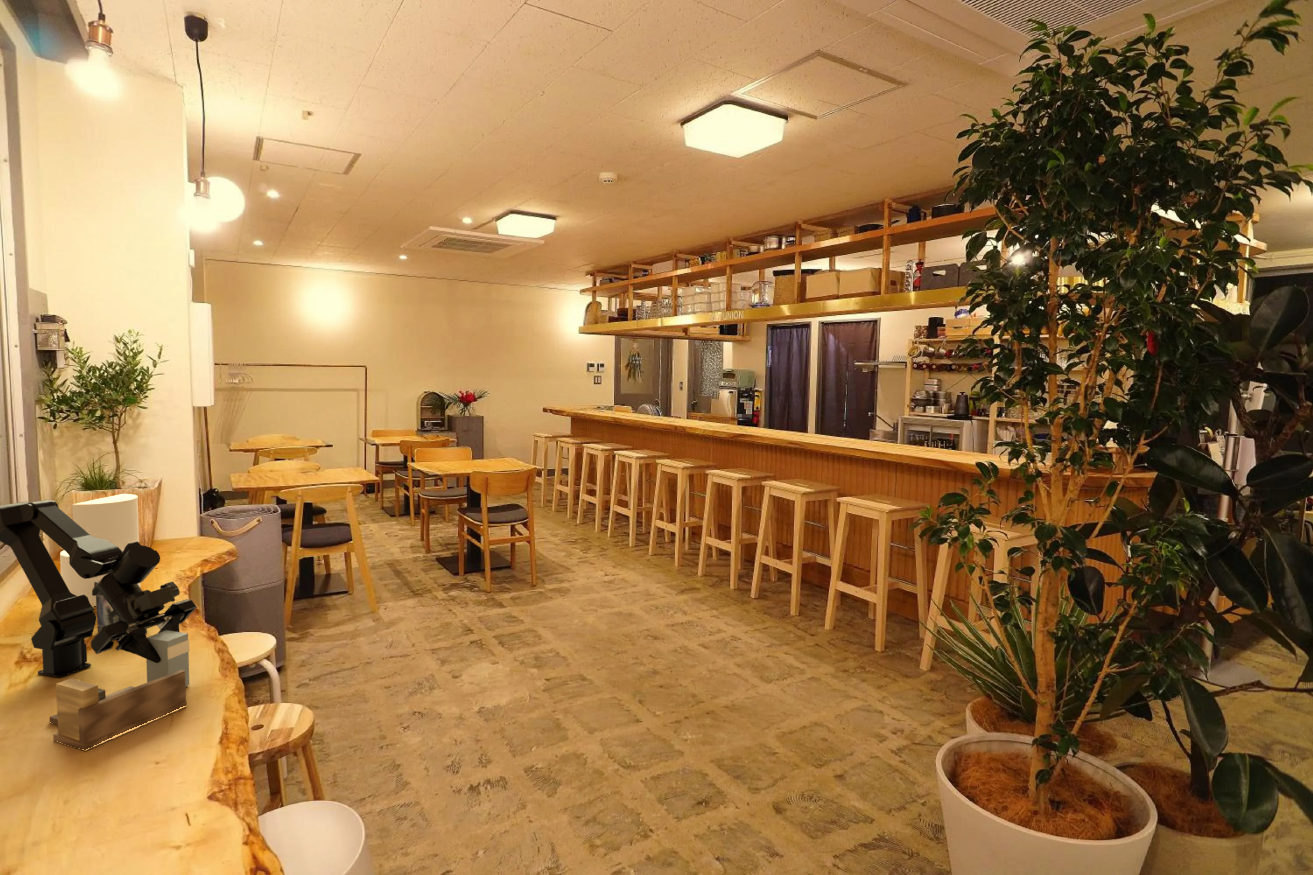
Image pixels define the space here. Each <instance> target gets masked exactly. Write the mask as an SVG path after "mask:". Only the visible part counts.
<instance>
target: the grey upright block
mask: <svg viewBox="0 0 1313 875" xmlns="http://www.w3.org/2000/svg"><path fill="white" fill-rule="evenodd" d="M157 633H158V632H157ZM157 633H155V634H152V635H149V636H146V637H147V639H148V640H149V642H150V643H151V644H152V646H153V647H154V649H155V650H156V651H157V653H158V655H159V656H160V658H161V661H160V662H159V663H155V662H152V661H150V660H148V659H145V661H146V683H147V682H150V681H153V680H155V679H158V678H161V677H163V676H166V675H168V674H171V673H174V672H176V671H179V670H184V671H185V684H186V686H187V687H189V686H190V663H189V662H190V660H189V656H190V655H189V654H190V653H189V652H190V639H189V633H187V632H181V631H180V632H175V631H169V630H166V631H163V632H160V633H158V634H157ZM188 685H189V686H188Z"/></svg>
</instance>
